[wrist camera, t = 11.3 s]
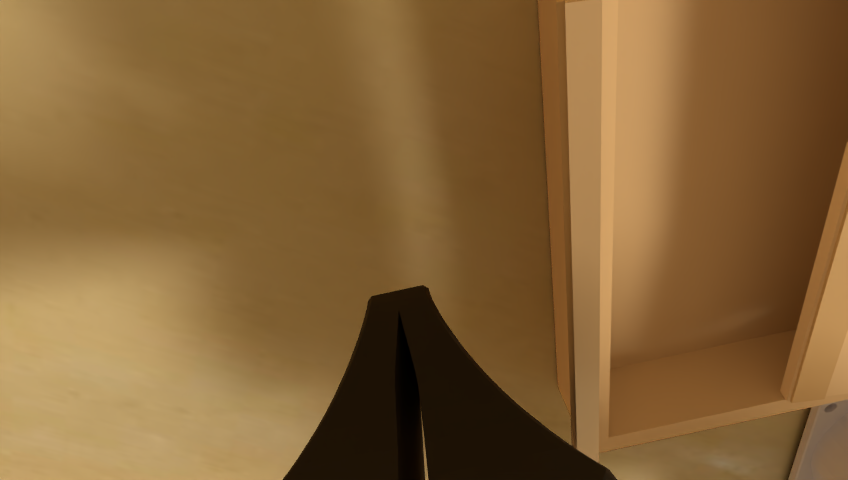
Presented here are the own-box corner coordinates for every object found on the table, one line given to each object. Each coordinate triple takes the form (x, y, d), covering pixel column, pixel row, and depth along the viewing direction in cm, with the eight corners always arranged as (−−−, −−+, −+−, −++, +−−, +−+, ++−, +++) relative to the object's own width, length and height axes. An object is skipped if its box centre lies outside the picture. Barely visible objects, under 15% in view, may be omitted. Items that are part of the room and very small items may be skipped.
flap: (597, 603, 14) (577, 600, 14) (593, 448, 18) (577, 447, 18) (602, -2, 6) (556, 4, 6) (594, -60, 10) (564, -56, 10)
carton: (843, 325, 21) (912, 385, 18) (557, 386, 21) (587, 455, 18) (1021, -213, 12) (1197, -239, 10) (531, -114, 12) (581, -113, 10)
